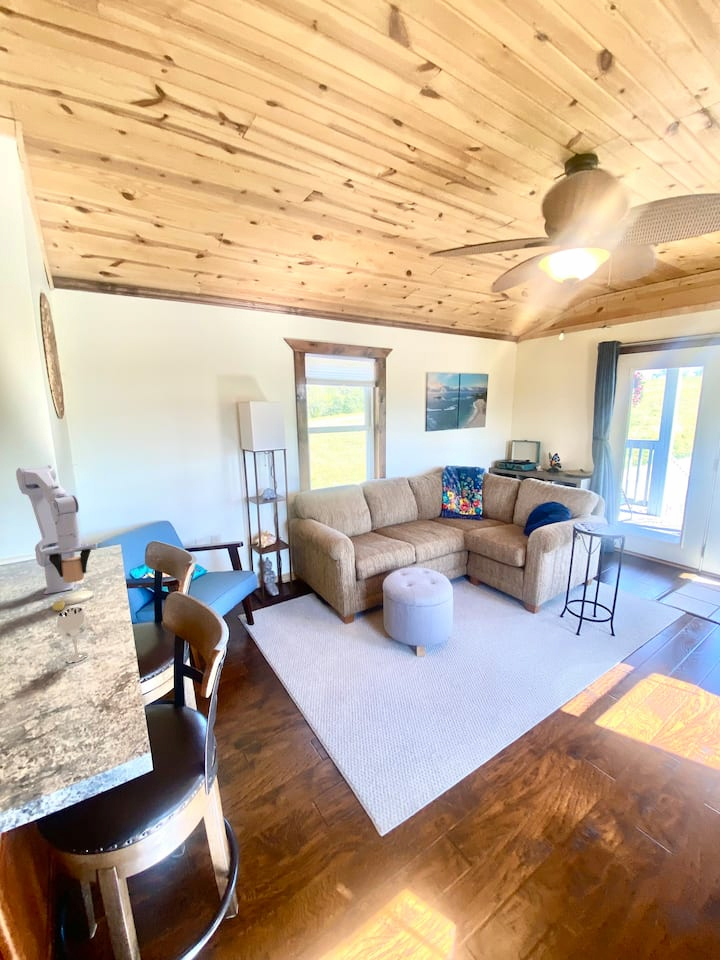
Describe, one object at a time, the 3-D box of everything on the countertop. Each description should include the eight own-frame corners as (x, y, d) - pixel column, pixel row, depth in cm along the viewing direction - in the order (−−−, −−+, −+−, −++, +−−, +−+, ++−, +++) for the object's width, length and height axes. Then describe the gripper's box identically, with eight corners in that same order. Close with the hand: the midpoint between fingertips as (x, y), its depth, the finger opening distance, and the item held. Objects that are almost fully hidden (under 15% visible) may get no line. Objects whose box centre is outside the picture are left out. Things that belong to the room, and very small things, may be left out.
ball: (54, 609, 123) (52, 600, 123) (66, 607, 125) (64, 598, 124) (52, 613, 121) (50, 604, 120) (64, 611, 122) (63, 602, 122)
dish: (62, 596, 133) (62, 594, 133) (94, 590, 137) (94, 588, 137) (57, 607, 125) (56, 604, 125) (91, 600, 129) (91, 598, 129)
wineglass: (76, 666, 94) (69, 618, 92) (56, 663, 95) (49, 616, 93) (96, 652, 99) (90, 607, 98) (77, 650, 101) (71, 605, 99)
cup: (65, 577, 131) (62, 558, 130) (85, 574, 134) (82, 555, 132) (62, 584, 126) (59, 564, 125) (82, 580, 129) (80, 561, 128)
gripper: (36, 540, 121) (42, 582, 123) (93, 533, 128) (98, 573, 130) (41, 535, 127) (47, 575, 129) (95, 528, 134) (100, 566, 136)
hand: (73, 574), depth 130 cm, fingers closed on cup, 5 cm apart
